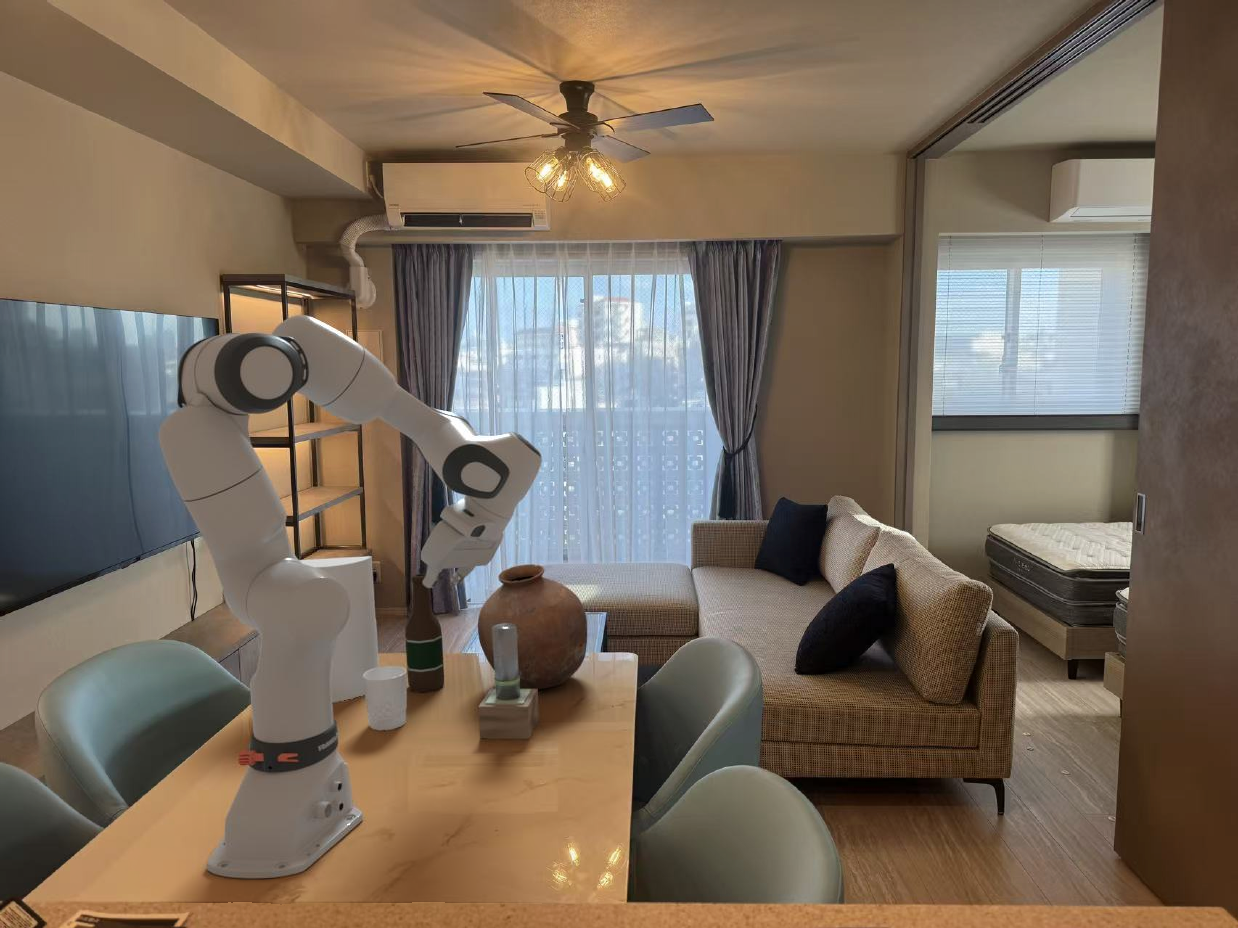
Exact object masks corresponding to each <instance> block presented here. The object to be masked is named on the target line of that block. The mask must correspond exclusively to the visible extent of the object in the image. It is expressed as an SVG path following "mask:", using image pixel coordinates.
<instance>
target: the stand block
mask: <svg viewBox="0 0 1238 928" xmlns="http://www.w3.org/2000/svg"><path fill="white" fill-rule="evenodd" d="M538 691H539V689H527V688H520V696H519V697H518V698H516V699H513V700H499V699H497V698H496V688H489V690H488V692H487V693H486V695H485V696H484V698H483V700H482V701H481V702H480V703H479V705H478V707H477V708H478V722H479V725H478V726H479V739H480V738H486V740H530V739H531V737H532V735H533V733H534V731H535V728H536V726H537V724H538V723H539V721H540V717H539V714H540V712H539V692H538ZM487 738H488V739H487Z"/></svg>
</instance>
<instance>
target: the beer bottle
mask: <svg viewBox="0 0 1238 928" xmlns="http://www.w3.org/2000/svg"><path fill="white" fill-rule="evenodd" d="M425 576H426V573H417V574H414V575H412V577H411V583H412V610H411V614H410V616H409V617H408V619H407V621H406V625H405V627H404V630H405V631H404V634H405V635H404V636H405V637H404V639H405V655H406V659H405V660H406V677H407V684H408V687H409V689H410V691H411V692H415V691H418V692H417V693H427V692H426V691H429V692H435V691H438V690H439V689H440V687H441V688H442V687H444V686H445V668H444V667H445V666H444V650H443V649H444V648H443V634H442V632H443V631H442V626H441V624H440V622H439V619H438V618H437V616H436V615H435V614H434V613H433V609H432V602H431V595H430V594H431V593H430V588H427V587H426V586H424V585H423V583H422V582H423V580H424V578H425ZM438 688H439V689H438ZM434 690H435V691H434Z"/></svg>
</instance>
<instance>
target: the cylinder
mask: <svg viewBox="0 0 1238 928" xmlns="http://www.w3.org/2000/svg"><path fill="white" fill-rule="evenodd" d="M298 560H299V561H300V562H301V563H302V564H305V565H309V566H312V567H315V568H319V569H321V570H324V571H325V572H327V573H328V574H330V575H331V576H332V577H333V578H334V579H336V580H337V581H338V582H339V583H340V584H341V585H342V586H343V587H344V589H345V590H346V592H347V594H348V596H349V600H350V614H349V618H348V621H347V623H346V625H345V627H344V628H343V630H342V631H341V632H340V633H339V635H338V636H337V639H336V643H335V648H334V653H333V659H332V667H331V688H332V703H339V701H341V702H345V701H344V700H346V701H348V700H347V699H351V700H354V699H353V698H355V697H358V696H361V697H364V696H365V689H364V680H363V674H364V673H365V672H367V671H369V670H371V669H374V668H378V667H380V663H379V662H380V661H379V649H378V647H379V646H378V645H379V644H378V630H377V619H376V606H375V604H376V603H375V602H376V601H375V588H374V587H375V585H374V574H373V573H374V571H373V556H372V555H371V556H370V555H367V556H352V557H332V558H331V557H330V558H314V559H298ZM363 695H364V696H363ZM358 698H359V697H358ZM355 699H356V698H355Z"/></svg>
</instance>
